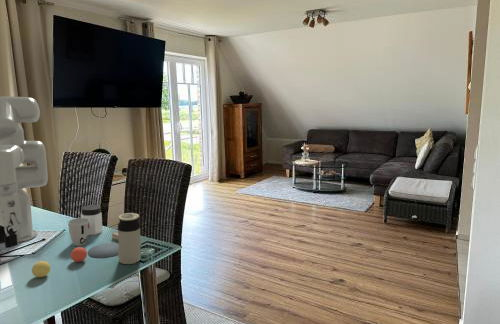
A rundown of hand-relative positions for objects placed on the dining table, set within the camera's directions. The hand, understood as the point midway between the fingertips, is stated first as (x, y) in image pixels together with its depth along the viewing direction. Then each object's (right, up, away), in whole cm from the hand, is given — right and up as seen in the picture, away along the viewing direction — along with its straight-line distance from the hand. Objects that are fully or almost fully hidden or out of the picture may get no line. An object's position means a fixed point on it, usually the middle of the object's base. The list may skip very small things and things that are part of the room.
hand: (7, 244), depth 109 cm
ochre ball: (+5, -11, +10) cm, 16 cm away
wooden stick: (+23, -9, +41) cm, 48 cm away
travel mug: (+30, -12, +25) cm, 41 cm away
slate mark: (+18, -10, +33) cm, 39 cm away
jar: (+3, -7, +51) cm, 52 cm away
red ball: (+12, -9, +22) cm, 27 cm away
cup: (+4, -9, +39) cm, 40 cm away
